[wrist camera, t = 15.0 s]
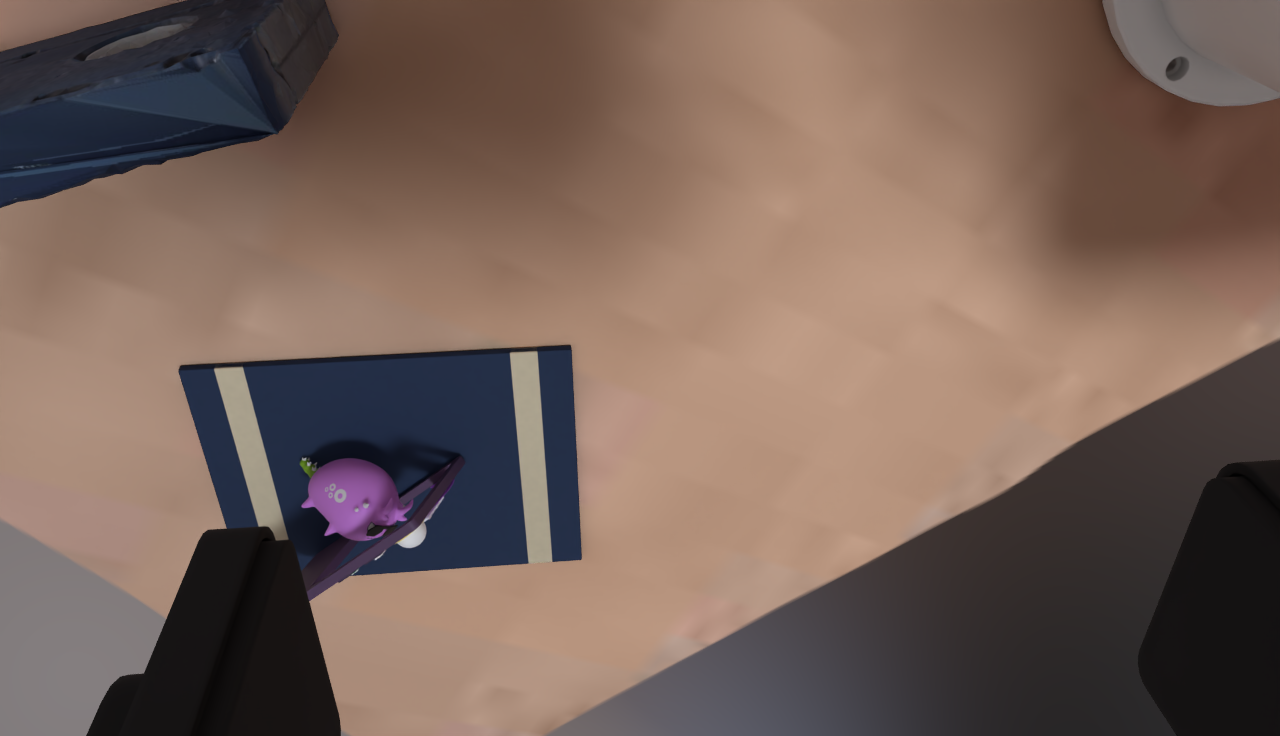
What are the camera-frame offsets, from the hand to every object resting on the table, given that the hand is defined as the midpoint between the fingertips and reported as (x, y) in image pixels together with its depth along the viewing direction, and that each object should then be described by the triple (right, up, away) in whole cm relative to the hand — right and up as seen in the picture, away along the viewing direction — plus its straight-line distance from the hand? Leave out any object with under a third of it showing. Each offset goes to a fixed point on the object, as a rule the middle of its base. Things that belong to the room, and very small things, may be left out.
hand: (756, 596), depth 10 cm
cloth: (-12, -2, +34) cm, 36 cm away
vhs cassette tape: (-21, +13, +24) cm, 34 cm away
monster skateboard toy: (-14, -2, +34) cm, 36 cm away
